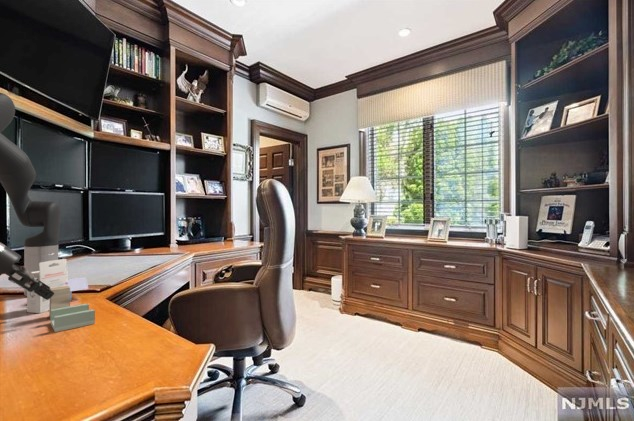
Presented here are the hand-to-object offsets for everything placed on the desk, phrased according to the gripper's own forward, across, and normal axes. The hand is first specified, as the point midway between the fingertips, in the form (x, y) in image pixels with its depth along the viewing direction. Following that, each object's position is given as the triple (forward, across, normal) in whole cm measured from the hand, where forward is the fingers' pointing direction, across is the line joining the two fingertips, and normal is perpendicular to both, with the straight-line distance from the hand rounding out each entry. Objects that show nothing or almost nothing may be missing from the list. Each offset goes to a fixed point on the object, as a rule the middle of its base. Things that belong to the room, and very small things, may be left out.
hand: (49, 293), depth 85 cm
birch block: (+6, 0, +3) cm, 7 cm away
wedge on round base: (+8, +21, +1) cm, 23 cm away
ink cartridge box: (+5, +12, +4) cm, 14 cm away
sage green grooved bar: (+7, -10, +2) cm, 13 cm away
